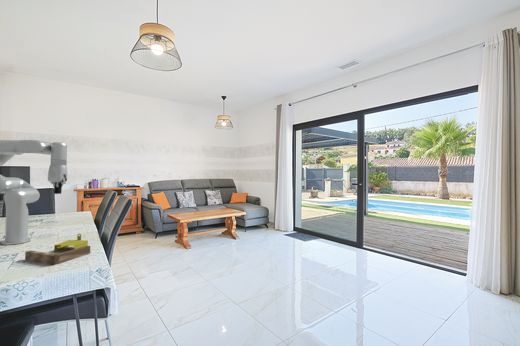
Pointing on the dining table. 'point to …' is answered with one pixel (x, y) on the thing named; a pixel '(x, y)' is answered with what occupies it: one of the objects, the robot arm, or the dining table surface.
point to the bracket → (71, 244)
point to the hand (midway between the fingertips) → (57, 193)
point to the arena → (56, 255)
